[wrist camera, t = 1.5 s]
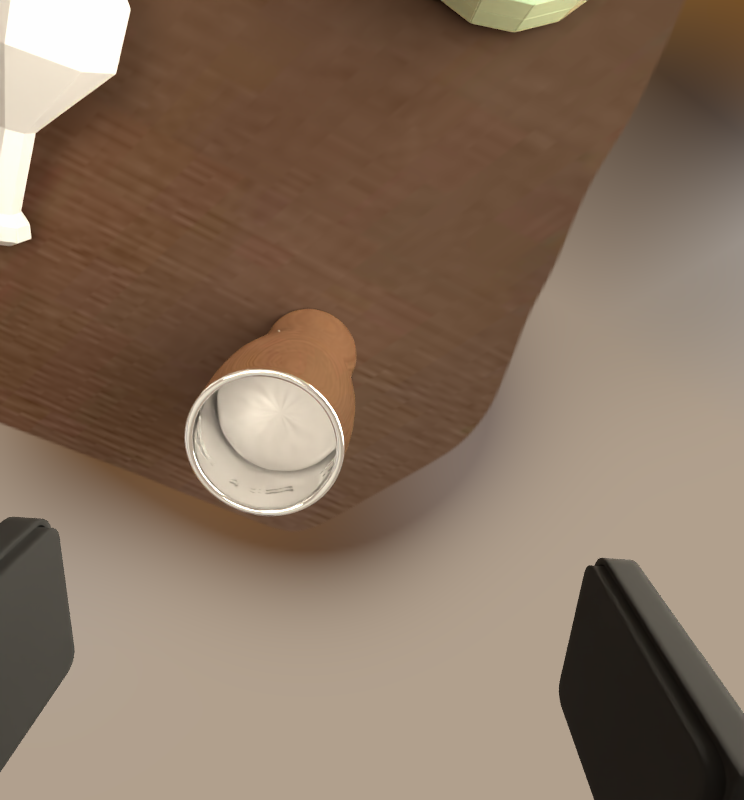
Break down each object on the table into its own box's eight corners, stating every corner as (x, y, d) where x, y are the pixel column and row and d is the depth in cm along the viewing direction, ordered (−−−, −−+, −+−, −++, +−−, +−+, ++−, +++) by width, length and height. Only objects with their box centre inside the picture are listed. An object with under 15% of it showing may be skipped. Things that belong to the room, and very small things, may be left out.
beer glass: (374, 315, 36) (366, 386, 22) (350, 414, 38) (330, 536, 24) (267, 290, 36) (189, 345, 21) (250, 391, 38) (169, 501, 24)
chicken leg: (-70, 191, 35) (-125, 248, 29) (-35, -164, 26) (-102, -190, 20) (77, 240, 39) (57, 299, 33) (150, -54, 30) (141, -48, 24)
